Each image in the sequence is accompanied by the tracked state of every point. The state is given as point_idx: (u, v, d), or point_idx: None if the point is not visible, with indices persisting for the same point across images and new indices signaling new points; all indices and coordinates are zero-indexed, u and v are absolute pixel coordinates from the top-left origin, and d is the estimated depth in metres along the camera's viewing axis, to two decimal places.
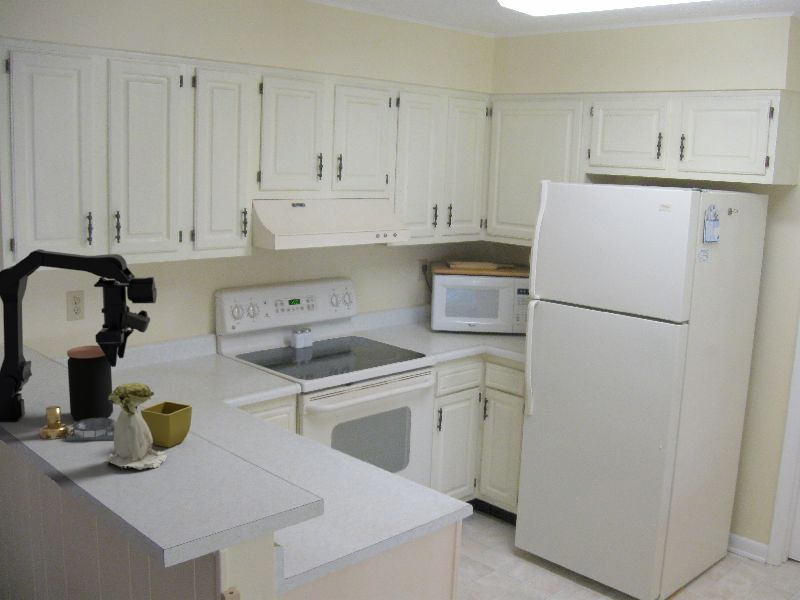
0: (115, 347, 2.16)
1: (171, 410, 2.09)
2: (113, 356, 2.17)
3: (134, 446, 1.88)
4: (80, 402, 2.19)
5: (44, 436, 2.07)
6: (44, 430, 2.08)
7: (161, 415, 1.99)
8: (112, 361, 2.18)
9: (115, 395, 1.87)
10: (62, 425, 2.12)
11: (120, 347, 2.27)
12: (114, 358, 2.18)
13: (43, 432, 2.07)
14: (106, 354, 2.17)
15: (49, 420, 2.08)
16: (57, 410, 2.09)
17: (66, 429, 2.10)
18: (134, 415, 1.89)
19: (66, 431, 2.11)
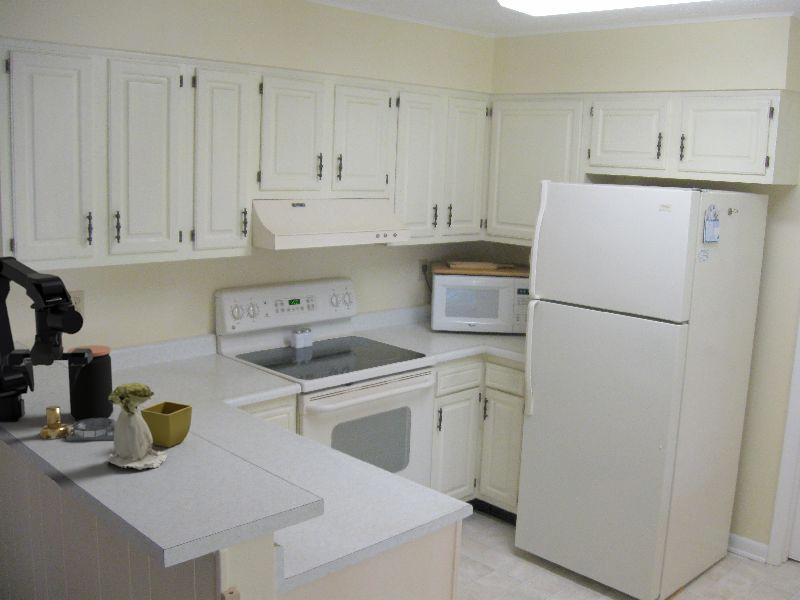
0: None
1: (171, 410, 2.09)
2: None
3: (134, 446, 1.88)
4: (80, 401, 2.19)
5: (44, 436, 2.07)
6: (44, 430, 2.08)
7: (161, 415, 1.99)
8: None
9: (115, 395, 1.87)
10: (62, 425, 2.12)
11: None
12: None
13: (43, 432, 2.07)
14: None
15: (49, 420, 2.08)
16: (57, 410, 2.09)
17: (66, 429, 2.10)
18: (134, 415, 1.89)
19: (66, 431, 2.11)
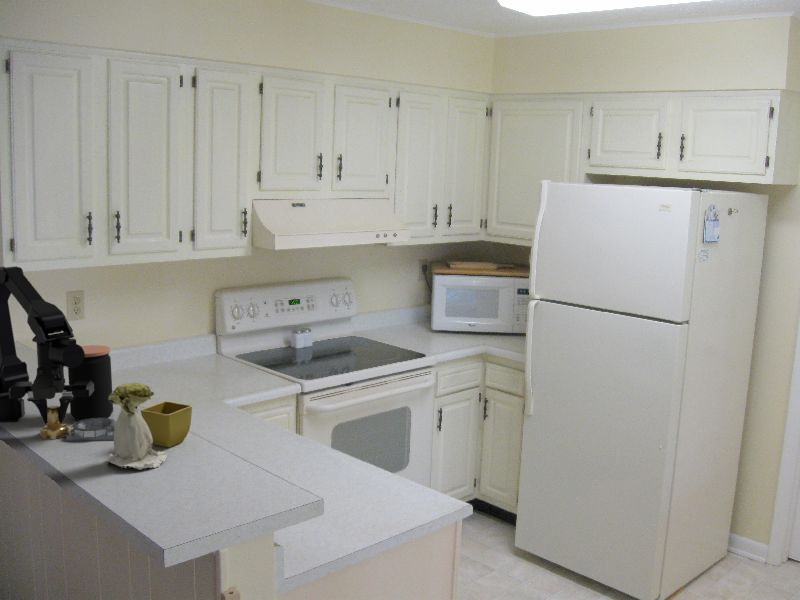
0: None
1: (171, 410, 2.09)
2: None
3: (134, 446, 1.88)
4: (80, 401, 2.19)
5: (44, 436, 2.07)
6: (44, 430, 2.08)
7: (161, 415, 1.99)
8: None
9: (115, 395, 1.87)
10: (62, 425, 2.12)
11: None
12: None
13: (43, 432, 2.07)
14: None
15: (49, 420, 2.08)
16: (57, 410, 2.08)
17: (66, 429, 2.10)
18: (134, 415, 1.89)
19: (66, 431, 2.11)
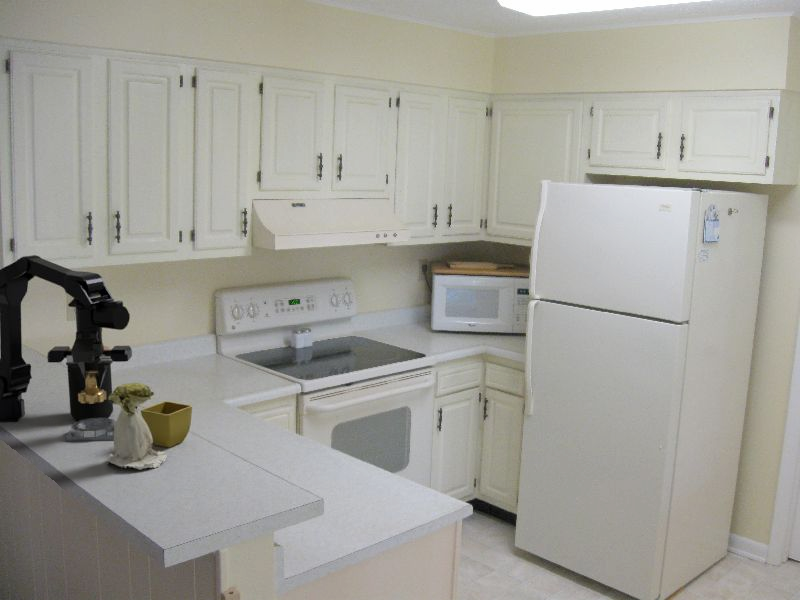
0: None
1: (171, 410, 2.09)
2: None
3: (134, 446, 1.88)
4: (79, 401, 2.19)
5: (82, 400, 2.07)
6: (82, 394, 2.07)
7: (161, 415, 1.99)
8: None
9: (115, 395, 1.87)
10: (100, 390, 2.11)
11: None
12: None
13: (81, 396, 2.07)
14: None
15: (87, 385, 2.08)
16: (95, 375, 2.08)
17: (104, 394, 2.10)
18: (134, 415, 1.89)
19: (104, 396, 2.10)
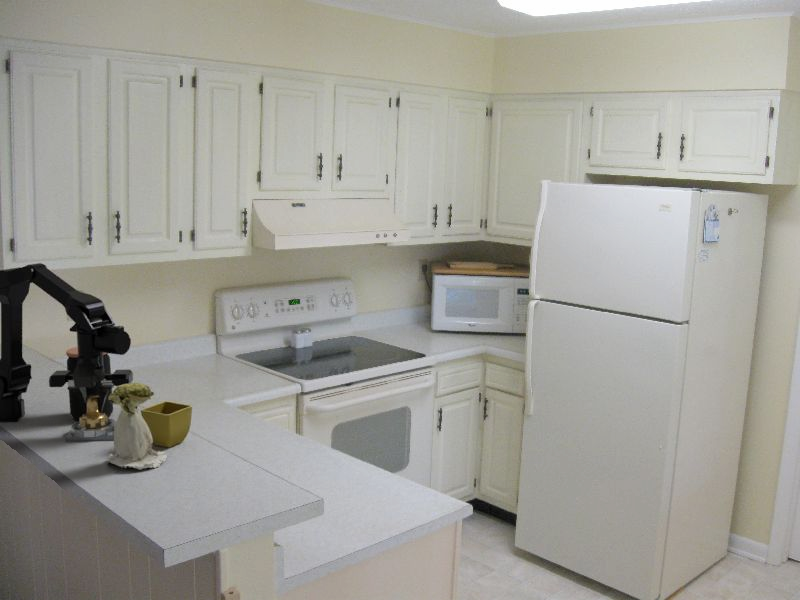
0: None
1: (171, 410, 2.09)
2: None
3: (134, 446, 1.88)
4: (79, 402, 2.19)
5: (84, 425, 2.08)
6: (84, 419, 2.08)
7: (161, 415, 1.99)
8: None
9: (115, 395, 1.87)
10: (101, 414, 2.12)
11: None
12: None
13: (83, 421, 2.08)
14: None
15: (88, 409, 2.09)
16: (96, 399, 2.09)
17: (105, 418, 2.11)
18: (134, 415, 1.89)
19: (105, 420, 2.11)
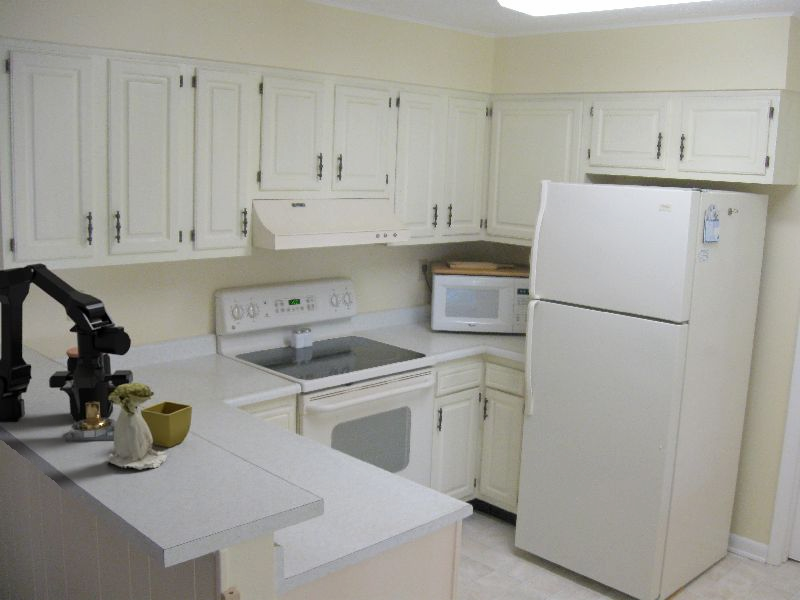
0: None
1: (171, 410, 2.09)
2: None
3: (134, 446, 1.88)
4: None
5: None
6: (84, 425, 2.09)
7: (161, 415, 1.99)
8: None
9: (115, 395, 1.87)
10: (101, 420, 2.12)
11: None
12: None
13: (83, 427, 2.08)
14: None
15: (89, 415, 2.09)
16: (96, 405, 2.09)
17: (105, 424, 2.11)
18: (134, 415, 1.89)
19: (105, 426, 2.11)
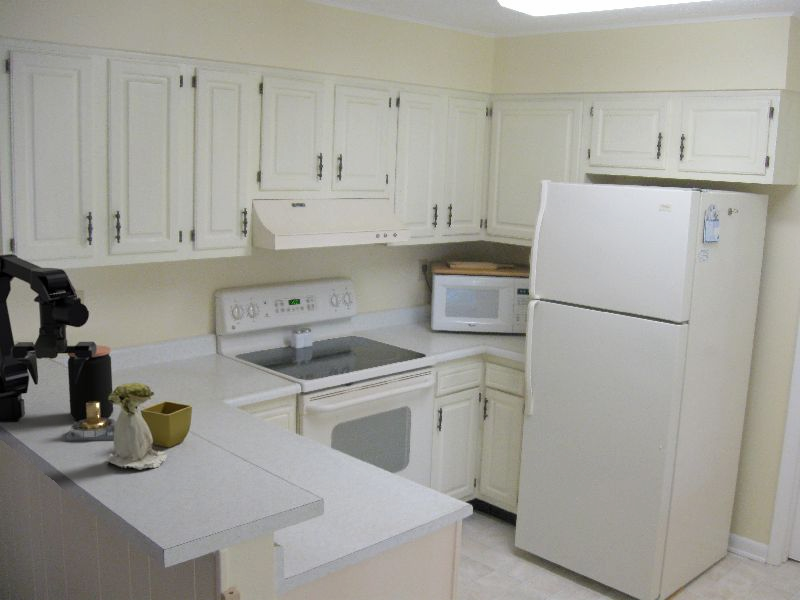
0: None
1: (171, 410, 2.09)
2: None
3: (134, 446, 1.88)
4: (79, 402, 2.19)
5: None
6: (84, 425, 2.09)
7: (161, 415, 1.99)
8: None
9: (115, 395, 1.87)
10: (101, 420, 2.12)
11: None
12: None
13: (83, 427, 2.08)
14: None
15: (89, 415, 2.09)
16: (97, 405, 2.09)
17: (105, 424, 2.11)
18: (134, 415, 1.89)
19: (105, 426, 2.11)
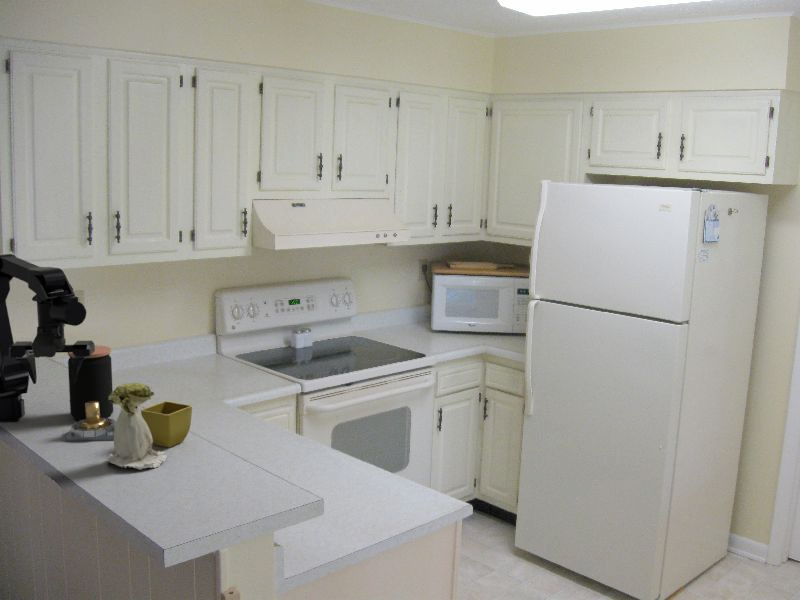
0: None
1: (171, 410, 2.09)
2: None
3: (134, 446, 1.88)
4: (79, 402, 2.19)
5: None
6: (83, 425, 2.09)
7: (161, 415, 1.99)
8: None
9: (115, 395, 1.87)
10: (101, 420, 2.12)
11: None
12: None
13: (82, 427, 2.08)
14: None
15: (88, 415, 2.09)
16: (96, 405, 2.09)
17: (105, 424, 2.11)
18: (134, 415, 1.89)
19: (105, 426, 2.11)
